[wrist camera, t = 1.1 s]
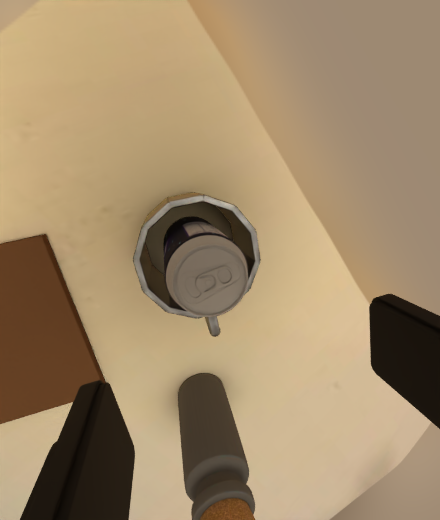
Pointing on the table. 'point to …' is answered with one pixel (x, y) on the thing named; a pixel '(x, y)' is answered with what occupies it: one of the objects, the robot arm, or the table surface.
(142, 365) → the table surface
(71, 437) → the robot arm
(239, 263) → the beverage can
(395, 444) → the table surface
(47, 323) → the mat
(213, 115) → the table surface
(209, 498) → the bottle
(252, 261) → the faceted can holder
